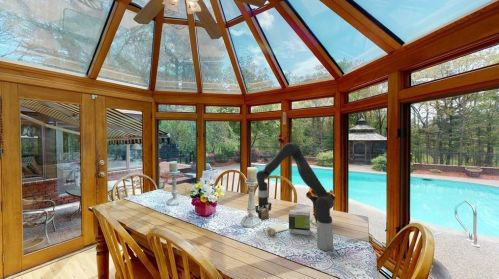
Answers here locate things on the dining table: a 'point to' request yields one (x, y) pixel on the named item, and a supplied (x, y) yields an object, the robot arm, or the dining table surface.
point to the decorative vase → (313, 198)
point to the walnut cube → (264, 215)
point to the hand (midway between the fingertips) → (263, 216)
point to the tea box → (299, 222)
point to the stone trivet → (278, 227)
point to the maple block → (271, 232)
